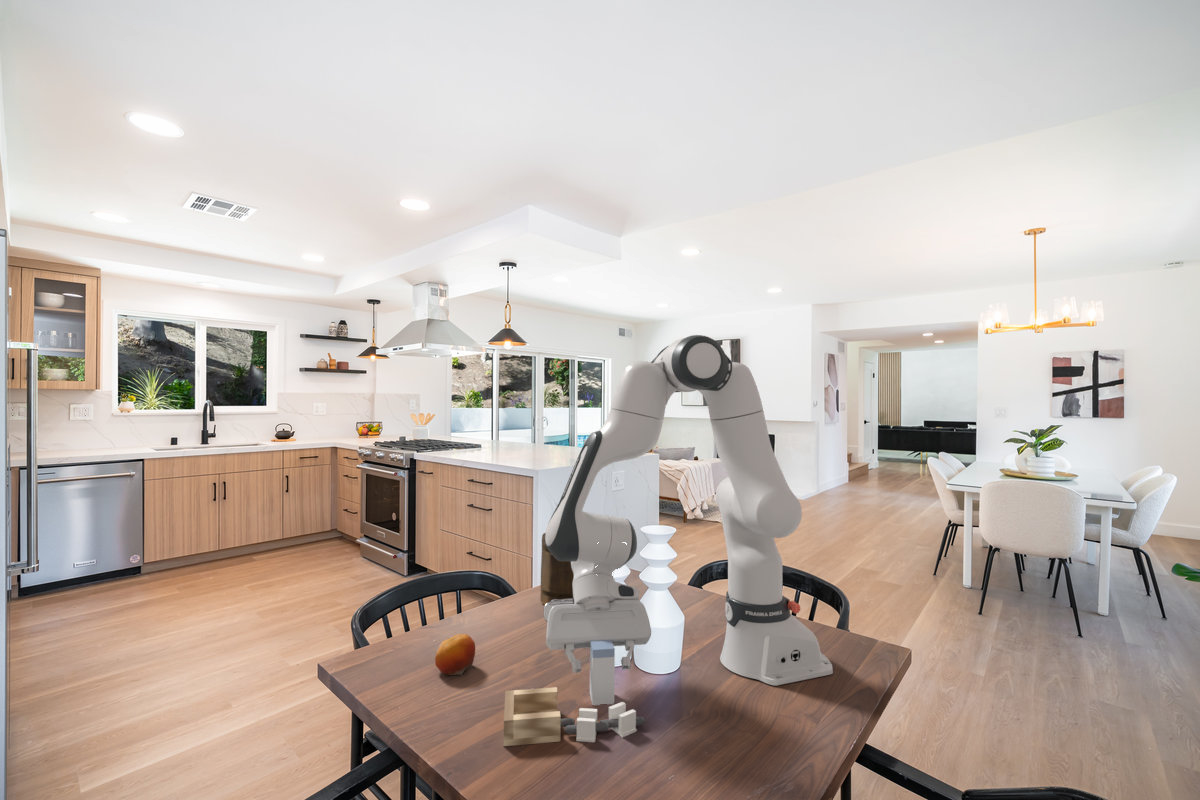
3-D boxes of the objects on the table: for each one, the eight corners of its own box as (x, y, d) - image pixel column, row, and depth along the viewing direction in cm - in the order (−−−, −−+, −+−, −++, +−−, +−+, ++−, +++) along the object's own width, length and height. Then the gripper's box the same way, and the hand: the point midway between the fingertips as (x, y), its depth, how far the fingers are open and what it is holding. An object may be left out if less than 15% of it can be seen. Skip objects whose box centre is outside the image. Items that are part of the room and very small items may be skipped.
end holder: (556, 709, 95) (556, 687, 95) (560, 741, 86) (560, 716, 86) (505, 713, 94) (505, 690, 94) (503, 746, 85) (503, 720, 85)
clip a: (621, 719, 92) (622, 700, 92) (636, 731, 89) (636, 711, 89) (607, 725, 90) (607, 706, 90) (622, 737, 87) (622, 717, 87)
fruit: (469, 676, 104) (451, 638, 105) (439, 691, 106) (422, 653, 107) (491, 658, 111) (474, 622, 113) (463, 672, 113) (446, 637, 115)
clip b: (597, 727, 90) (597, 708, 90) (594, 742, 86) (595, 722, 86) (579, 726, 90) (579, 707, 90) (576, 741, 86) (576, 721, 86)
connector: (610, 692, 101) (610, 639, 101) (614, 703, 97) (614, 648, 97) (589, 693, 100) (590, 640, 100) (592, 705, 96) (592, 649, 96)
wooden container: (599, 607, 143) (599, 525, 143) (544, 612, 140) (544, 528, 140) (587, 589, 158) (588, 514, 158) (537, 593, 154) (538, 516, 154)
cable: (642, 717, 92) (642, 710, 92) (647, 728, 89) (647, 721, 89) (548, 725, 90) (548, 718, 90) (549, 737, 86) (549, 729, 86)
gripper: (544, 592, 104) (545, 667, 94) (646, 588, 107) (658, 660, 97) (542, 607, 109) (544, 679, 99) (641, 602, 112) (652, 672, 102)
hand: (602, 670), depth 98 cm, fingers open, 8 cm apart
